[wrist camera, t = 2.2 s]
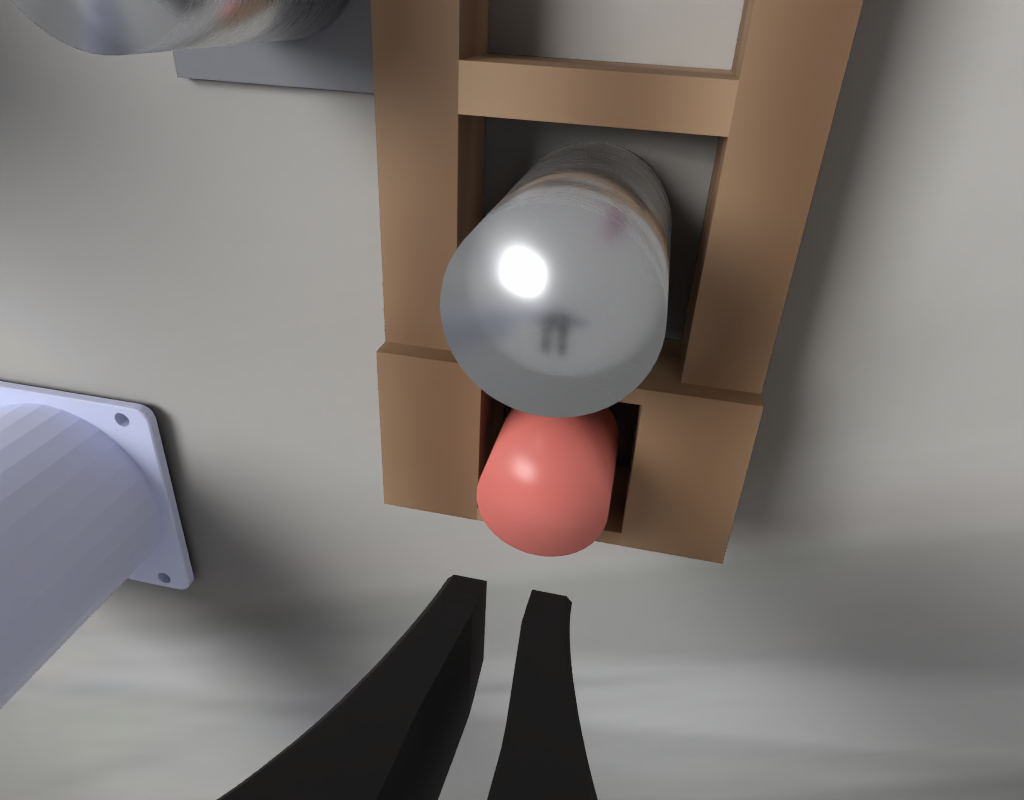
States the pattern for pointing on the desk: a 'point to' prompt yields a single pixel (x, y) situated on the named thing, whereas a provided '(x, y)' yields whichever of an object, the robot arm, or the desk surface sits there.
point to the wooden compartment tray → (718, 270)
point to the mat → (295, 57)
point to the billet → (177, 22)
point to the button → (550, 481)
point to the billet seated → (564, 284)
